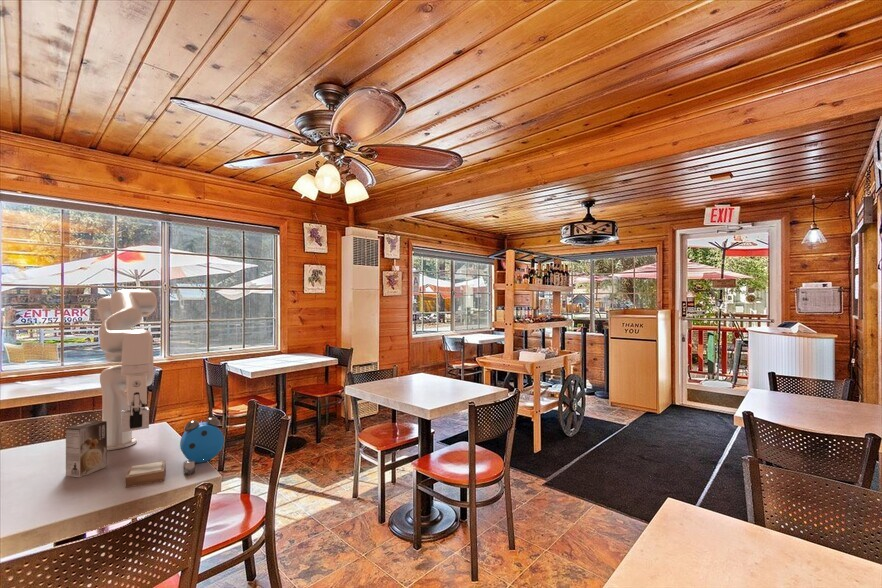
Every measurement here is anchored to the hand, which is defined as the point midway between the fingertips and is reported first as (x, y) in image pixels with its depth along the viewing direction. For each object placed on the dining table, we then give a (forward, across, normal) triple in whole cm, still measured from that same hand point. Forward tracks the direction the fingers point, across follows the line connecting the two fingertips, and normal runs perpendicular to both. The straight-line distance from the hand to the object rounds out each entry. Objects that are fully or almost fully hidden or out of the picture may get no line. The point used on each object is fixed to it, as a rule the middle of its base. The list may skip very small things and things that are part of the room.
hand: (135, 425), depth 137 cm
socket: (+18, -6, -14) cm, 23 cm away
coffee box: (+18, +18, +13) cm, 28 cm away
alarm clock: (+18, +5, -20) cm, 27 cm away
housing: (+1, 0, 0) cm, 1 cm away
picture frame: (+18, -1, -3) cm, 18 cm away
